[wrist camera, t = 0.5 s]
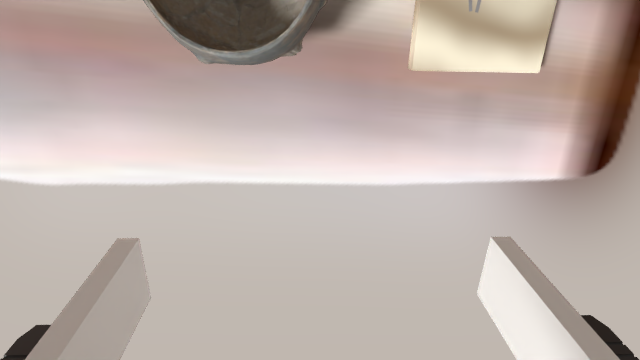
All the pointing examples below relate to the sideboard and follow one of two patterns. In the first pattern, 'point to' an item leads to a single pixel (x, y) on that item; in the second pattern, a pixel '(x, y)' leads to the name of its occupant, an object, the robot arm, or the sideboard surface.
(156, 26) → the sideboard surface
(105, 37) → the sideboard surface
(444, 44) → the board
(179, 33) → the bowl
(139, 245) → the robot arm
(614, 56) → the sideboard surface
